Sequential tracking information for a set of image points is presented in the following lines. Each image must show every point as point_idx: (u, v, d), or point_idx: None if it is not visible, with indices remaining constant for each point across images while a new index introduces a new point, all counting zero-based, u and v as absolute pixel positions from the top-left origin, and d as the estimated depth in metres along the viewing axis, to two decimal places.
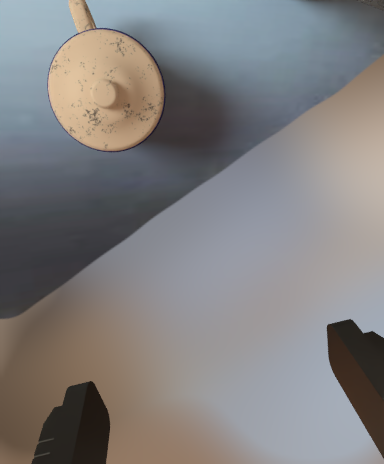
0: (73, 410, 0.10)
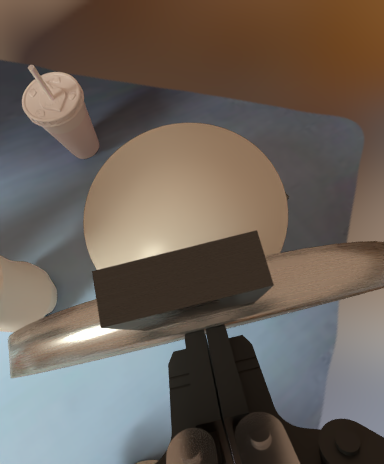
0: (198, 350, 0.11)
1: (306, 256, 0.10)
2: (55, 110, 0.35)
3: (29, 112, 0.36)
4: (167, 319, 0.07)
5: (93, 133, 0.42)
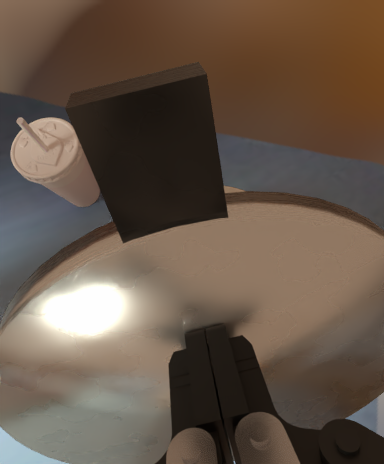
0: (198, 350, 0.11)
1: (285, 197, 0.11)
2: (49, 164, 0.30)
3: (19, 166, 0.31)
4: (131, 167, 0.08)
5: (93, 181, 0.37)
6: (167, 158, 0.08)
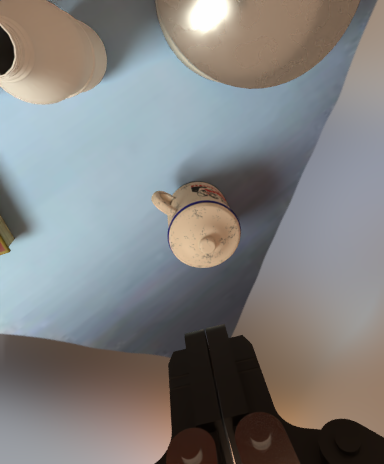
0: (198, 350, 0.11)
1: None
2: None
3: None
4: None
5: None
6: None
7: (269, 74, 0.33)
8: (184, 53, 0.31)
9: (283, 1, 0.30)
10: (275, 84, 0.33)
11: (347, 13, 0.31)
